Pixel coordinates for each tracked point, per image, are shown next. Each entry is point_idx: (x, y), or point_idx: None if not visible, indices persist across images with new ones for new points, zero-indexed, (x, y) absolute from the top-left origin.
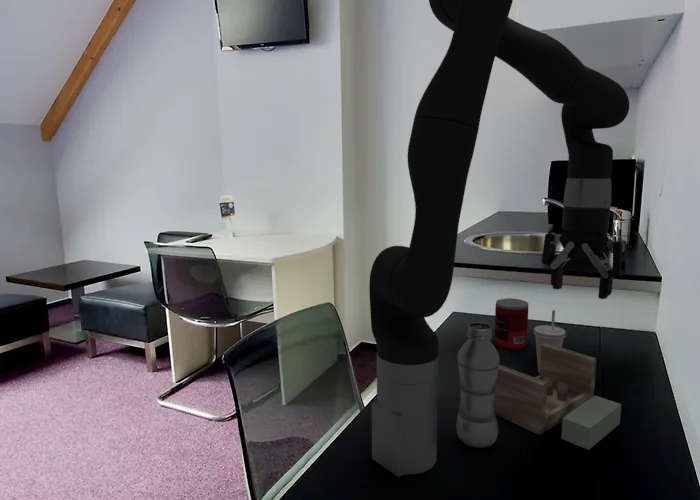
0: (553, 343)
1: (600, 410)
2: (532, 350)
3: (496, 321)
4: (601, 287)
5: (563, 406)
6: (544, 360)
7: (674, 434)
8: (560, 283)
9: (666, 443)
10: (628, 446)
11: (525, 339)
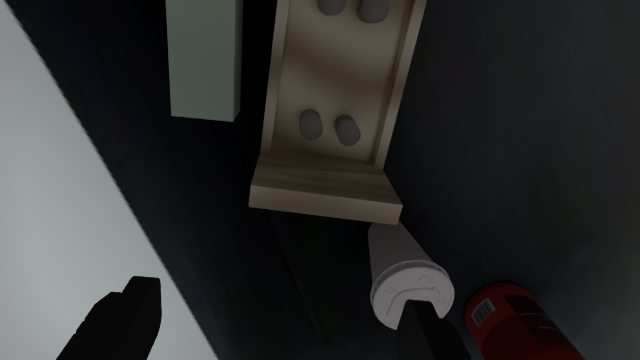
0: (387, 262)
1: (189, 48)
2: None
3: (559, 329)
4: (115, 324)
5: (277, 42)
6: (380, 184)
7: (96, 133)
8: (405, 351)
9: (88, 85)
10: (131, 17)
11: (471, 325)
